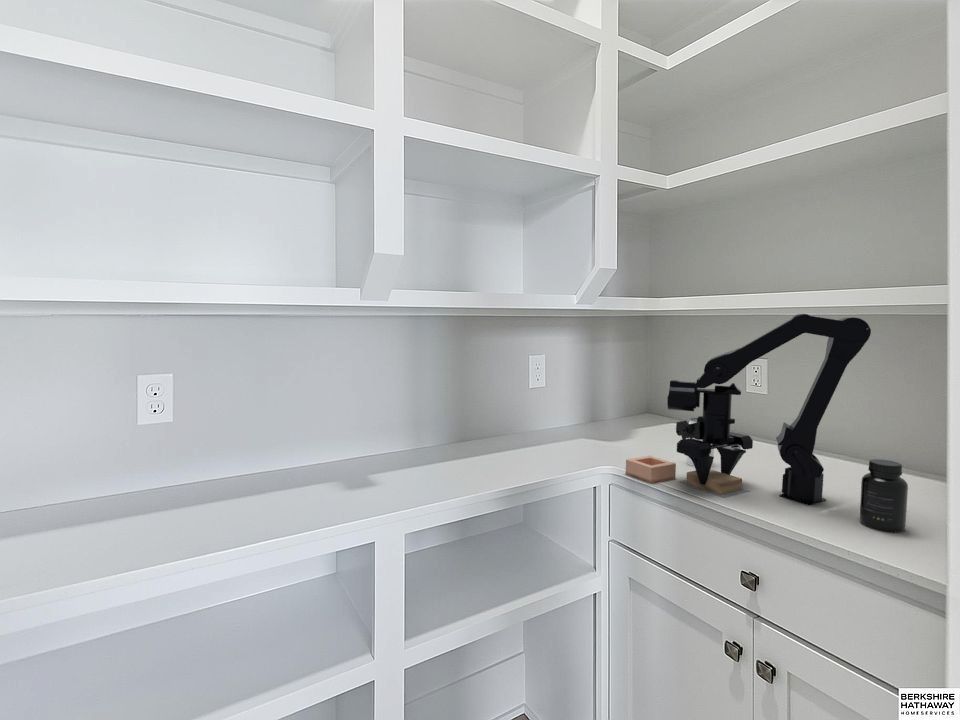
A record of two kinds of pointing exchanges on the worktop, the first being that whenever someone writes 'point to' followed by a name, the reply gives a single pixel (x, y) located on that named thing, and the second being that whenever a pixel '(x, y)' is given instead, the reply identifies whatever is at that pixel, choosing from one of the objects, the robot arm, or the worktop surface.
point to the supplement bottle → (884, 496)
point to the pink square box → (650, 469)
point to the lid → (716, 482)
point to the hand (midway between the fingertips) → (713, 481)
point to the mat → (716, 493)
